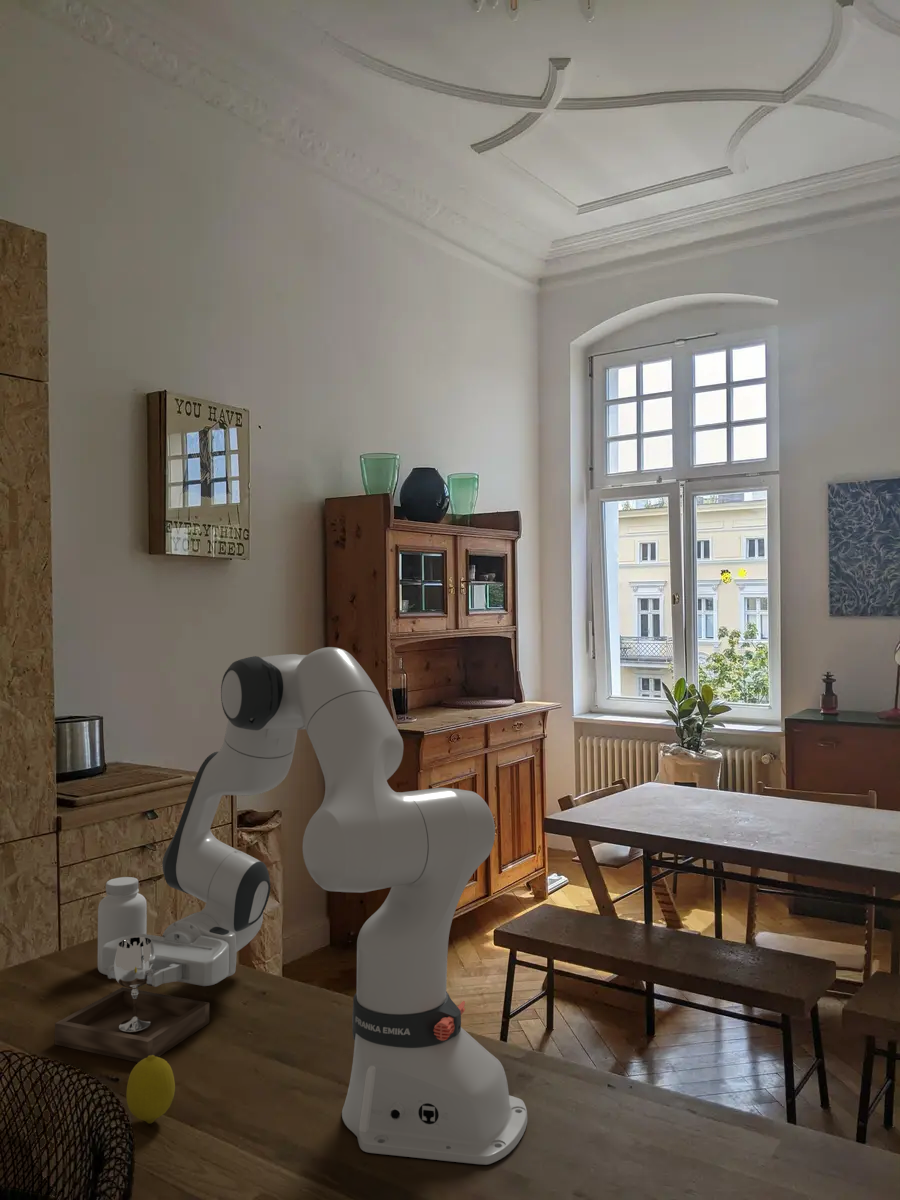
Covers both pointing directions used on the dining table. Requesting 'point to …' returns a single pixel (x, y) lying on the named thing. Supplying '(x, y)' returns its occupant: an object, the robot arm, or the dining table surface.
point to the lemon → (150, 1088)
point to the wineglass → (134, 974)
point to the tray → (102, 1018)
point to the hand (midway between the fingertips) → (130, 977)
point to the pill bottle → (120, 913)
